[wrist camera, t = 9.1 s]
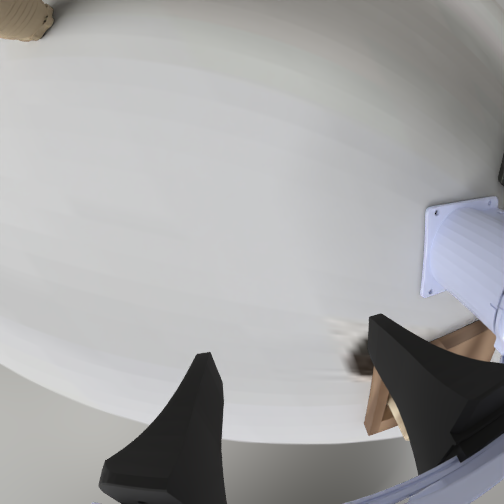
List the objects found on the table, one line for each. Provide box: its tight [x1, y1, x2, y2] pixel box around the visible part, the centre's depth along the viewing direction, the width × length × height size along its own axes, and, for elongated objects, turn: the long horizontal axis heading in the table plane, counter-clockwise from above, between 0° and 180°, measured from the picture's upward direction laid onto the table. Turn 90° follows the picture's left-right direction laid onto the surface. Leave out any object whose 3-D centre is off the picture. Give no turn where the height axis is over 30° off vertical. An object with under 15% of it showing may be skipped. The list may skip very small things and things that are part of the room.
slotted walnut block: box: [364, 320, 496, 436], centre depth 25 cm, size 18×12×2 cm, turn 100°
